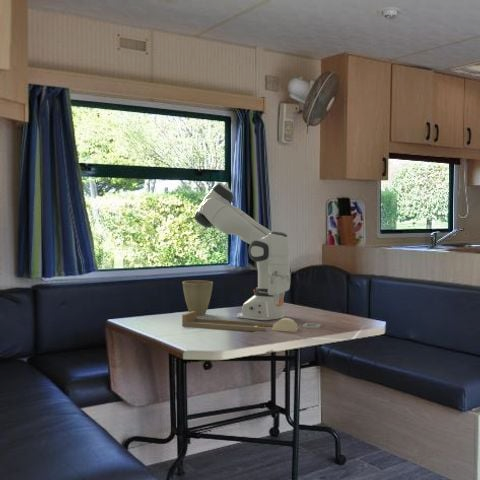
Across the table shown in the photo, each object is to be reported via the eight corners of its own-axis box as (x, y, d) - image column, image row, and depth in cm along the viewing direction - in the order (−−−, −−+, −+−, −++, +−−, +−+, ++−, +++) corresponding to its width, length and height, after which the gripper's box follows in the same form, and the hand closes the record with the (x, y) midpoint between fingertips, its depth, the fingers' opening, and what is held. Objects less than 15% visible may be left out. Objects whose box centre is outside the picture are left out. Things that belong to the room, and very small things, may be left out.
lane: (182, 337, 258) (182, 314, 258) (193, 332, 269) (192, 310, 268) (293, 346, 241) (293, 322, 241) (299, 341, 251) (300, 317, 251)
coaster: (301, 329, 252) (301, 325, 252) (305, 326, 258) (305, 322, 258) (317, 330, 249) (317, 326, 249) (321, 327, 256) (321, 323, 256)
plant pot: (178, 316, 282) (178, 283, 282) (187, 311, 297) (187, 279, 296) (208, 317, 279) (208, 284, 278) (216, 312, 294) (216, 280, 293)
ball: (281, 307, 246) (281, 298, 245) (272, 307, 247) (272, 297, 247) (284, 306, 249) (284, 296, 249) (275, 305, 251) (275, 296, 250)
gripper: (278, 273, 237) (278, 307, 237) (292, 268, 256) (292, 300, 256) (263, 272, 239) (263, 306, 239) (278, 268, 258) (279, 300, 258)
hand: (279, 303), depth 248 cm, fingers closed on ball, 4 cm apart
